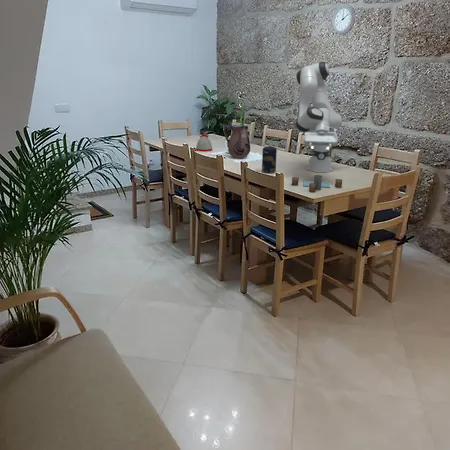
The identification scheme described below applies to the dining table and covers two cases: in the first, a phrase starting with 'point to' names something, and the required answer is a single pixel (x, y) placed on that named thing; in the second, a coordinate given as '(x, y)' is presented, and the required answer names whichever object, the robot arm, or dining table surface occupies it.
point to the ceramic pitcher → (238, 141)
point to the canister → (269, 159)
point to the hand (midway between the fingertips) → (319, 150)
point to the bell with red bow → (204, 143)
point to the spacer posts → (313, 186)
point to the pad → (306, 183)
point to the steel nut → (318, 181)
